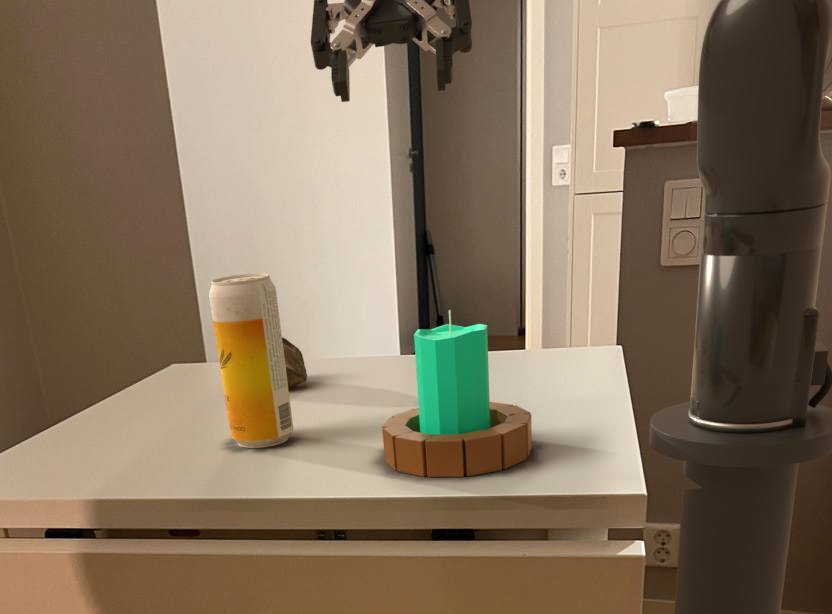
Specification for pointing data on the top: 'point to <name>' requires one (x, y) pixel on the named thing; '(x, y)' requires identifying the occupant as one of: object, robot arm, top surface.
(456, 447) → the brown segmented block ring
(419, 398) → the candle
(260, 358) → the beer can
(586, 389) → the top surface
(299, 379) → the fossilized seashell
